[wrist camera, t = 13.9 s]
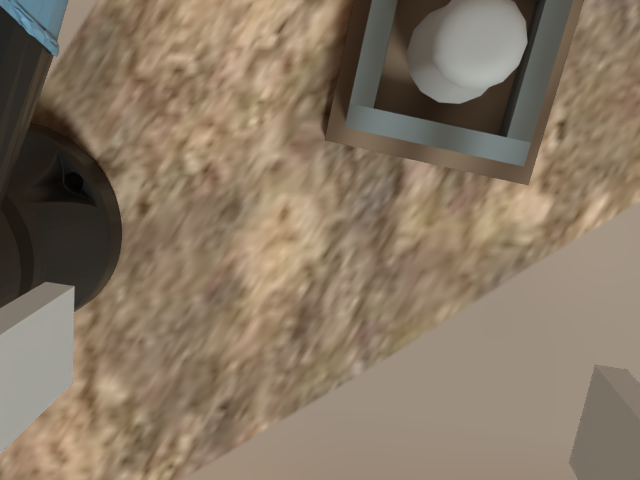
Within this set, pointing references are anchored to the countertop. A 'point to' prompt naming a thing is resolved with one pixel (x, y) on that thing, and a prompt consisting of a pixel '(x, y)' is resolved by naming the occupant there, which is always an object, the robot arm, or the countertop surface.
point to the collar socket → (448, 118)
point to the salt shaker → (466, 48)
